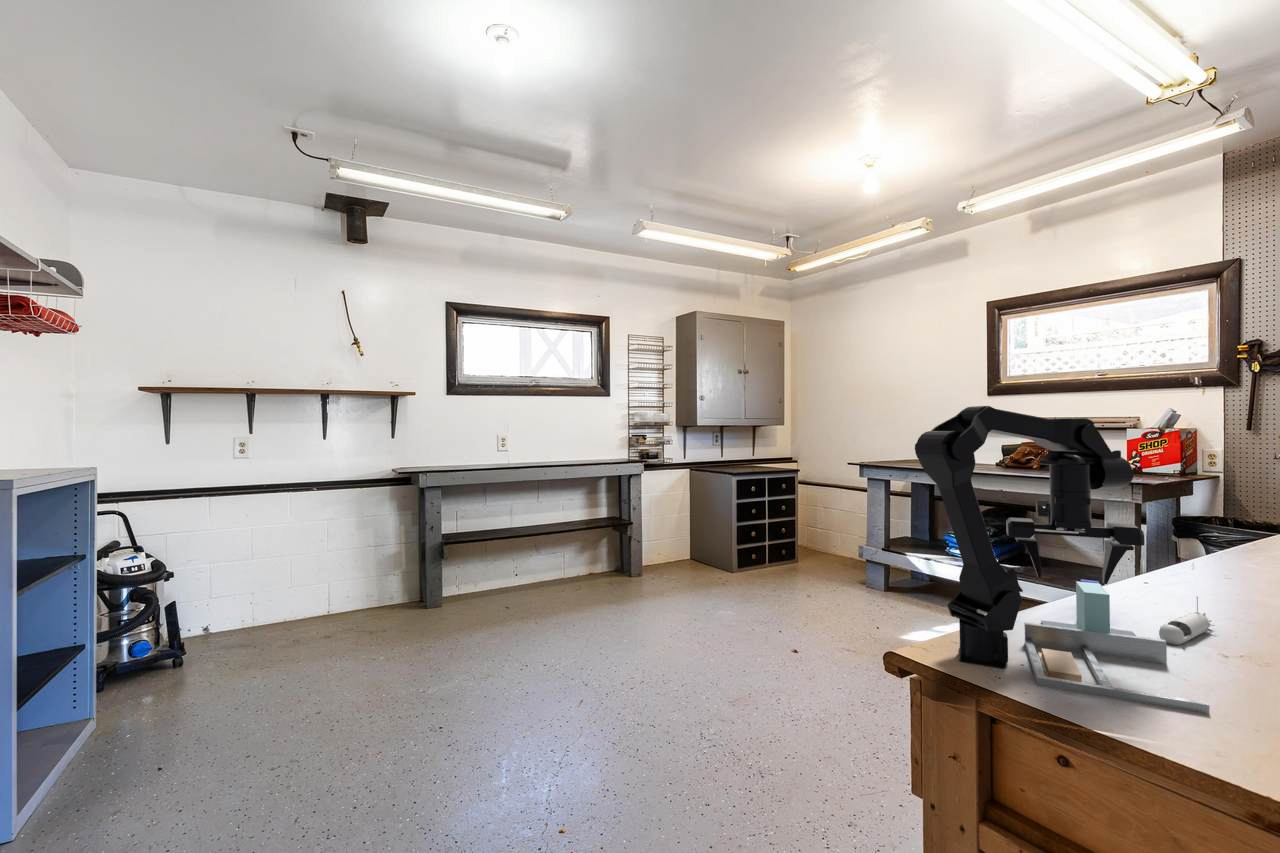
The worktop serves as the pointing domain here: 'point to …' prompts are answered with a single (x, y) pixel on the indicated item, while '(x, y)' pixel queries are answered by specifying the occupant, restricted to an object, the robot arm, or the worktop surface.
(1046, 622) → the rubber mat
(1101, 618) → the pale teal block
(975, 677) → the worktop surface
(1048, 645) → the rack
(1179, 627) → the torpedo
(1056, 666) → the upper offcut
